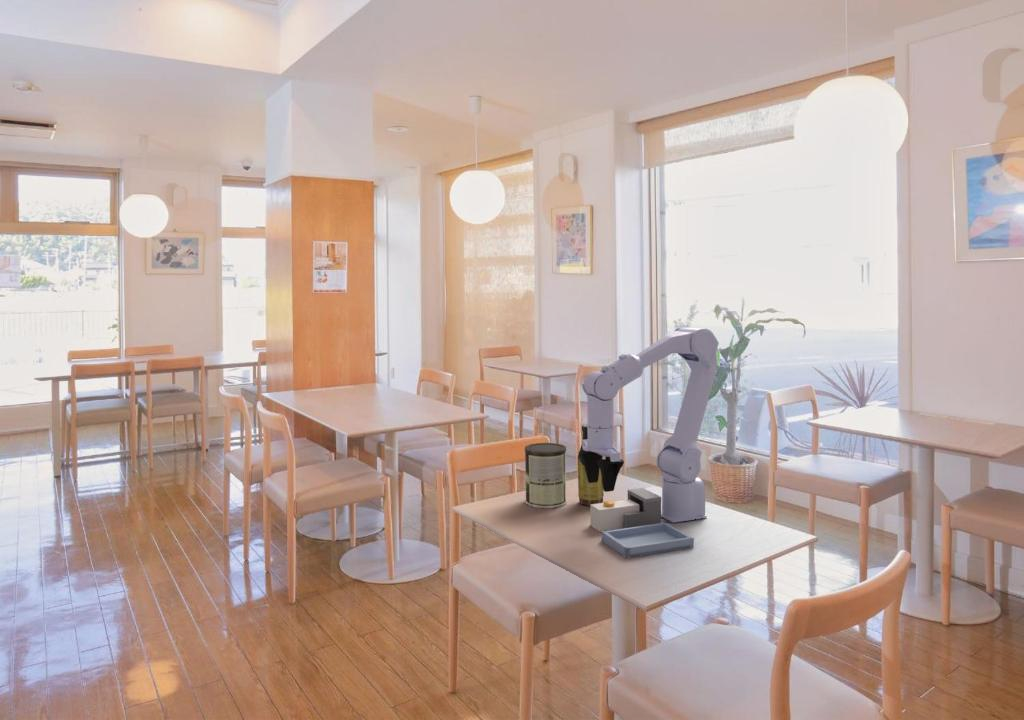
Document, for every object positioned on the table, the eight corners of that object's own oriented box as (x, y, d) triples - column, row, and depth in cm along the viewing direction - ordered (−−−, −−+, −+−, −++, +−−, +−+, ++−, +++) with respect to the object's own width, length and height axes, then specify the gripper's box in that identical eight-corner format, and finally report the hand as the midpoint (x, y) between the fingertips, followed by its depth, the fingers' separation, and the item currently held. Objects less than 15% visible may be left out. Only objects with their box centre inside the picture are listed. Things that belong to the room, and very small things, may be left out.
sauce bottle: (586, 498, 183) (586, 421, 181) (608, 502, 180) (608, 423, 178) (573, 504, 178) (572, 425, 176) (595, 508, 174) (595, 428, 172)
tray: (665, 531, 158) (665, 522, 158) (693, 547, 148) (693, 537, 148) (601, 540, 152) (601, 531, 152) (626, 558, 143) (626, 548, 142)
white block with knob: (629, 520, 166) (629, 496, 165) (639, 526, 162) (639, 502, 161) (590, 526, 162) (590, 501, 162) (599, 532, 158) (599, 507, 158)
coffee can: (517, 501, 182) (516, 446, 180) (550, 494, 187) (550, 440, 186) (540, 511, 173) (540, 453, 172) (574, 504, 178) (574, 448, 177)
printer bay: (642, 515, 169) (642, 487, 168) (661, 525, 162) (661, 497, 161) (608, 519, 166) (608, 492, 165) (625, 530, 159) (625, 501, 158)
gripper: (570, 422, 164) (570, 480, 165) (599, 433, 150) (599, 497, 152) (597, 419, 166) (598, 477, 168) (629, 431, 153) (629, 493, 154)
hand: (600, 486), depth 160 cm, fingers open, 7 cm apart
